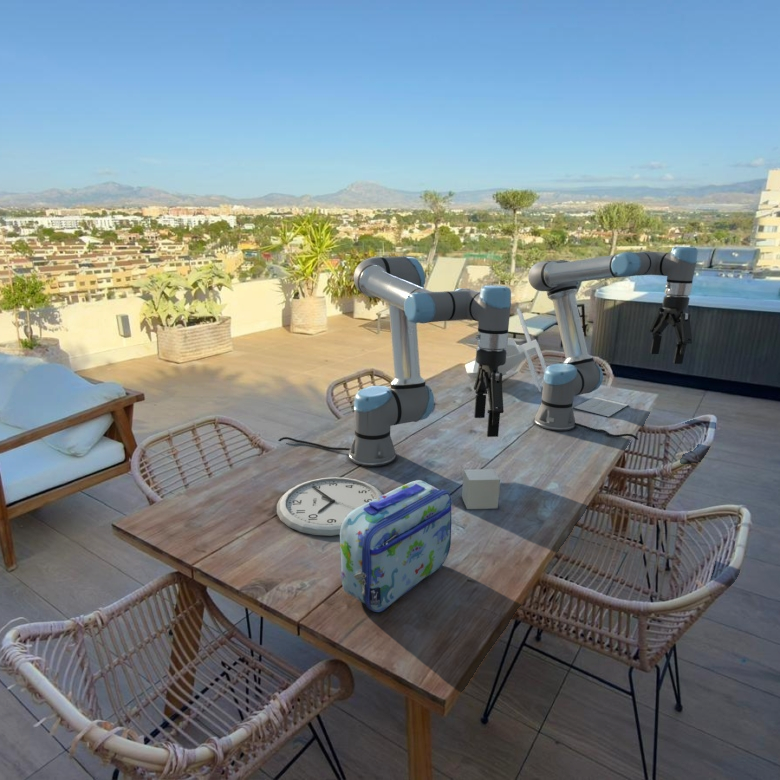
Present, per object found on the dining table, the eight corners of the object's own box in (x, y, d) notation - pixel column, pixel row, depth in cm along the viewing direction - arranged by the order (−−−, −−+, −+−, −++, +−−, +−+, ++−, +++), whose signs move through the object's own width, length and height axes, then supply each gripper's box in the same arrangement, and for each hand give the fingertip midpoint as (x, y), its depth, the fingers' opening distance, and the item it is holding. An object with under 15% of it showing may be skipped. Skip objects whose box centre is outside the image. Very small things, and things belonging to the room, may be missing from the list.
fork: (420, 411, 216) (420, 406, 216) (430, 400, 230) (431, 395, 230) (426, 412, 215) (426, 407, 215) (436, 401, 230) (436, 396, 229)
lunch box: (369, 626, 100) (370, 530, 93) (334, 598, 107) (332, 507, 101) (455, 567, 117) (460, 483, 111) (419, 547, 124) (423, 467, 118)
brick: (491, 496, 149) (493, 468, 146) (497, 508, 143) (500, 479, 140) (461, 497, 148) (463, 469, 146) (467, 509, 142) (469, 480, 139)
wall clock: (392, 527, 129) (268, 531, 127) (391, 533, 130) (269, 537, 127) (383, 473, 158) (282, 475, 155) (383, 478, 158) (282, 480, 156)
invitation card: (608, 416, 214) (573, 407, 224) (608, 416, 214) (573, 408, 224) (628, 404, 229) (594, 396, 238) (628, 405, 229) (594, 397, 238)
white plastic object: (486, 420, 263) (466, 398, 238) (467, 347, 285) (447, 319, 261) (558, 397, 251) (544, 370, 226) (532, 322, 273) (517, 290, 248)
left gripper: (466, 338, 144) (461, 410, 150) (490, 360, 120) (483, 445, 126) (493, 338, 144) (487, 410, 151) (521, 360, 121) (513, 444, 127)
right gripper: (645, 291, 183) (635, 350, 189) (689, 300, 159) (677, 368, 166) (665, 291, 184) (655, 350, 190) (713, 300, 160) (699, 367, 166)
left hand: (485, 426), depth 139 cm, fingers open, 13 cm apart
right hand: (665, 358), depth 178 cm, fingers open, 13 cm apart
